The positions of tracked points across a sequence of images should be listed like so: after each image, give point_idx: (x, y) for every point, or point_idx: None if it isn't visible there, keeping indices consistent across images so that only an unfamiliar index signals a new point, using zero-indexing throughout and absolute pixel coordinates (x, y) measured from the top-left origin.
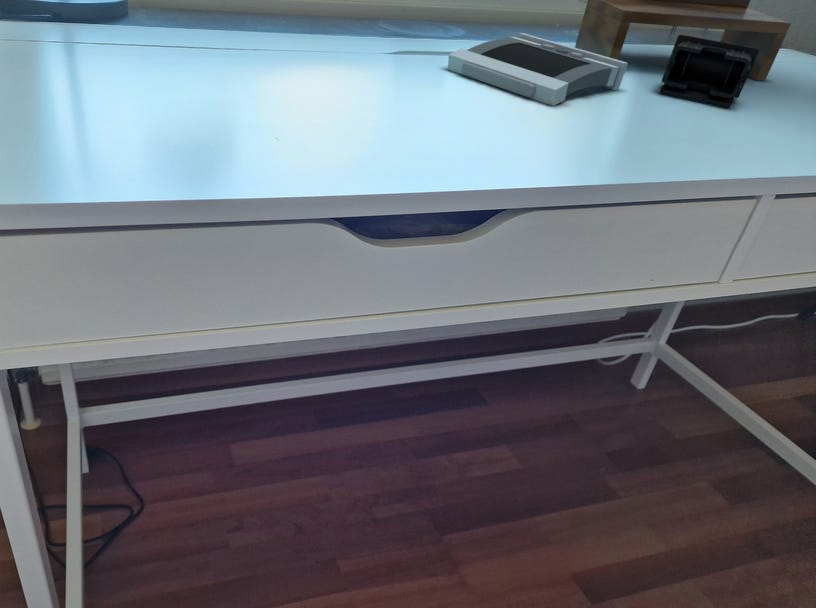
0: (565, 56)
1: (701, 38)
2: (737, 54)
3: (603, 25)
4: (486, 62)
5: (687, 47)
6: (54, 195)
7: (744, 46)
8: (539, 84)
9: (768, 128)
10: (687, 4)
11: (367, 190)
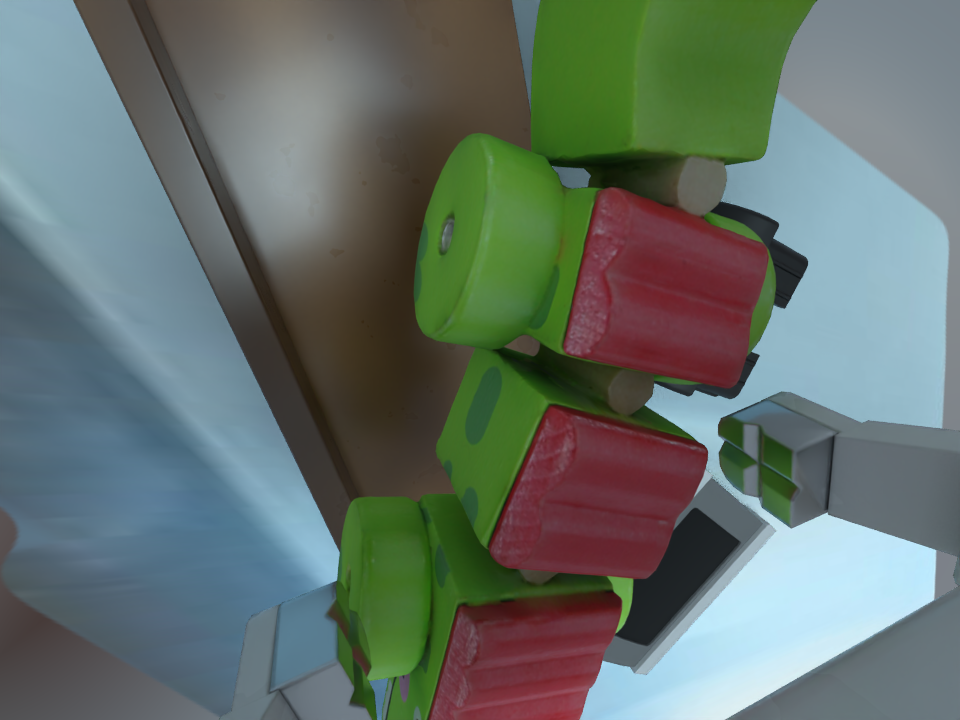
0: None
1: None
2: (778, 277)
3: None
4: (683, 627)
5: (745, 380)
6: None
7: None
8: (757, 551)
9: (809, 204)
10: (327, 331)
11: (929, 594)
